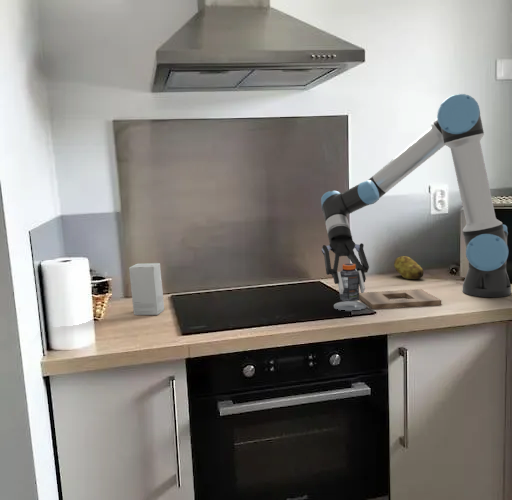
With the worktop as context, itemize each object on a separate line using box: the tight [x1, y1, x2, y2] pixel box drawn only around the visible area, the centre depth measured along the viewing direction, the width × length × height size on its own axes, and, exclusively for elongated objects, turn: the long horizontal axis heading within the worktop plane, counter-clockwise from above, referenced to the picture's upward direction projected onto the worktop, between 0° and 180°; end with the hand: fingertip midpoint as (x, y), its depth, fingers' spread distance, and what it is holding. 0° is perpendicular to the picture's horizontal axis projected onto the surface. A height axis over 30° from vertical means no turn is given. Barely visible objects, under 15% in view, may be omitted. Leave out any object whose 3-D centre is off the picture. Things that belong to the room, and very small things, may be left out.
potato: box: [393, 255, 425, 280], centre depth 217 cm, size 8×13×8 cm, turn 10°
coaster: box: [333, 301, 367, 312], centre depth 177 cm, size 10×10×1 cm
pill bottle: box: [339, 262, 360, 302], centre depth 176 cm, size 6×6×11 cm
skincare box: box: [128, 262, 165, 316], centre depth 178 cm, size 8×7×16 cm
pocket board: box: [359, 288, 442, 310], centre depth 182 cm, size 22×16×2 cm
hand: (352, 291), depth 172 cm, fingers closed on pill bottle, 6 cm apart
